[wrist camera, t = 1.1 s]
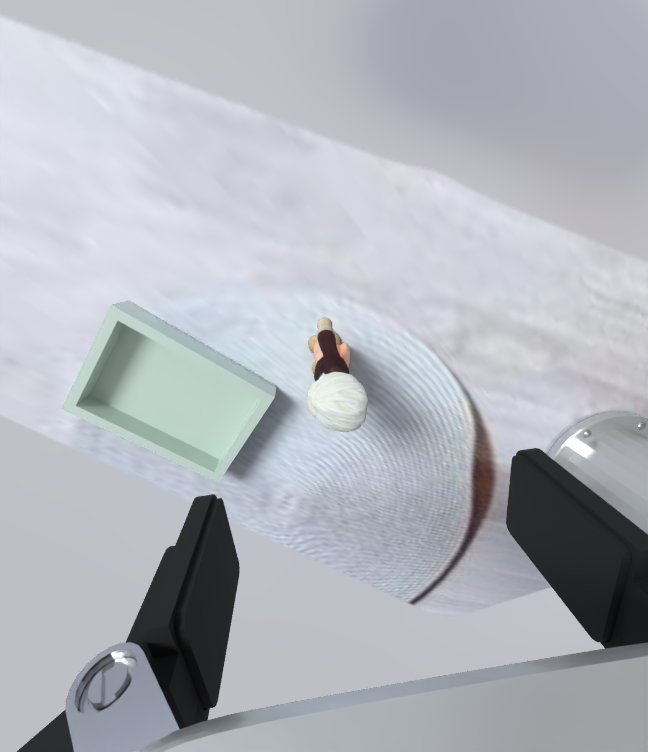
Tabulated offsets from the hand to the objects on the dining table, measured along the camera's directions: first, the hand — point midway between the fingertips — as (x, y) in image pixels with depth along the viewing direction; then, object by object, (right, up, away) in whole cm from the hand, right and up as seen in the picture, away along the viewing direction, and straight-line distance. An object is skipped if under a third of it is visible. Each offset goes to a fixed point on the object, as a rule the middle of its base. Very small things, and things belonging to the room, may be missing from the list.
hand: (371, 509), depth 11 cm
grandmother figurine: (-1, +7, +19) cm, 20 cm away
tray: (-14, +3, +19) cm, 24 cm away
